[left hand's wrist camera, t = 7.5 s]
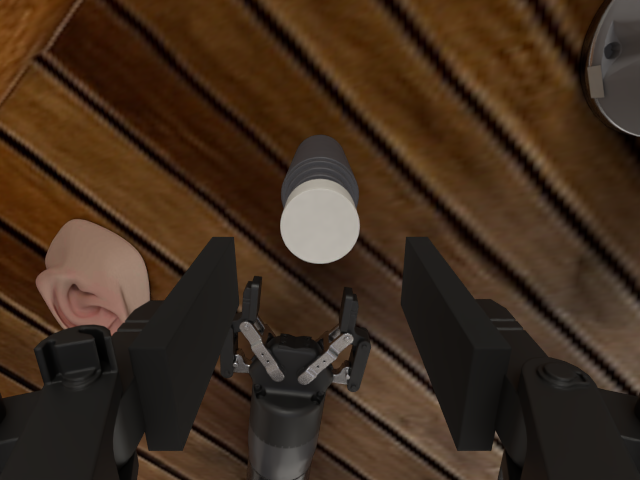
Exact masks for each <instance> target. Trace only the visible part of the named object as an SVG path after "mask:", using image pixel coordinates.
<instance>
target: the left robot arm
mask: <svg viewBox="0 0 640 480" xmlns="http://www.w3.org/2000/svg"><path fill="white" fill-rule="evenodd" d="M580 74H581V83H582V89H583V92H584V96H585V98H586V101H587V103H588V105H589V107H590V108H591V110H592V111H593V113H594V114H595V116H596V117H597V118H598V119H599V120H600V121H601V122H603V123H604V124H605V125H606V126H608V127H609V128H611V129H613V130H615V131H617V132H620V133H623V134H626V135H631V136H637V137H640V0H605V1H604V2H603V4H602V5H601V7H600V8H599V10H598V11H597V13H596V15H595V17H594V19H593V21H592V23H591V25H590V27H589V30H588V32H587V35H586V38H585V42H584V45H583V50H582V55H581V67H580ZM238 306H239V295H238V283H237V270H236V258H235V246H234V237H212V238H211V240H210V241H209V242H208V244H207V245H206V246H205V248H204V249H203V250H202V252H201V253H200V254H199V256H198V257H197V258H196V259H195V261H194V262H193V263H192V265H191V266H190V267H189V269H188V270H187V271H186V273H185V274H184V275H183V277H182V278H181V279H180V281H179V282H178V283H177V284H176V286H175V287H174V288H173V290H172V291H171V292H170V294H169V295H168V296H167V298H166V299H165V300H164V301H148V302H146V303H145V304H143V305H141V306H140V307H138V308H136V309H135V310H134V311H133V312H132V313H131V314H130V315H129V316H128V318H127V319H126V320H125V323H122V324H121V326H120V327H119V328H118V329H117V332H115V333H114V334H113V335H112V336H111V332H110V330H109V329H107V328H106V327H105V326H101V325H95V324H92V325H80V326H75V327H71V328H67V329H64V330H62V331H59V332H57V333H54V334H52V335H51V336H49V337H47V338H46V339H44V340H42V341H41V342H40V343H39V344H38V345H37V346H36V347H35V348H34V352H35V355H36V359H37V362H38V365H39V369H40V372H41V375H42V379H43V382H44V386H43V388H42V390H39V391H36V392H31V393H26V394H21V395H16V396H11V397H7V398H2V396H1V394H0V480H137V475H138V467H139V464H138V457H137V452H136V448H137V446H138V444H139V442H140V440H141V438H142V436H143V434H144V432H145V435H146V440H147V445H148V450H149V451H183V448H184V446H185V443H186V440H187V438H188V435H189V433H190V430H191V428H192V425H193V422H194V420H195V417H196V415H197V412H198V409H199V407H200V404H201V402H202V399H203V397H204V394H205V391H206V389H207V386H208V384H209V381H210V378H211V376H212V373H213V371H214V368H215V366H216V363H217V360H218V358H219V355H220V353H221V350H222V347H223V345H224V342H225V340H226V337H227V335H228V332H229V329H230V327H231V324H232V322H233V319H234V317H235V314H236V311H237V309H238ZM401 306H402V309H403V311H404V314H405V317H406V319H407V322H408V324H409V327H410V329H411V332H412V335H413V337H414V340H415V342H416V345H417V347H418V350H419V353H420V355H421V358H422V360H423V363H424V366H425V368H426V371H427V373H428V376H429V378H430V381H431V384H432V386H433V389H434V391H435V394H436V397H437V399H438V402H439V404H440V407H441V409H442V412H443V415H444V417H445V420H446V422H447V425H448V428H449V430H450V433H451V435H452V438H453V440H454V443H455V446H456V448H457V451H491V450H492V445H493V440H494V435H495V430H496V432H497V434H498V436H499V438H500V440H501V442H502V444H503V446H504V447H505V448H504V452H503V457H502V462H501V466H500V471H499V475H498V480H640V394H639V396H638V397H637V396H633V395H628V394H623V393H618V392H613V391H608V390H604V389H600V388H597V386H596V384H595V382H594V381H593V380H592V379H591V377H590V376H589V375H588V374H586V373H585V372H584V371H582V370H581V369H579V368H578V367H576V366H574V365H572V364H569V363H567V362H565V361H562V360H558V359H554V358H550V357H548V356H547V355H546V354H545V353H544V351H543V350H542V349H541V348H540V347H539V346H538V345H537V343H536V342H535V341H534V340H533V339H532V338H531V336H530V335H529V334H528V333H527V332H526V331H525V330H523V327H522V326H521V325H520V324H519V323H518V322H517V321H515V318H514V317H513V316H512V315H511V314H510V312H509V311H508V310H507V309H506V308H504V307H503V306H501V305H499V304H498V303H496V302H494V301H493V300H491V299H474V298H473V296H472V295H471V294H470V292H469V291H468V290H467V288H466V287H465V286H464V284H463V283H462V282H461V281H460V279H459V278H458V277H457V275H456V274H455V273H454V271H453V270H452V269H451V267H450V266H449V265H448V263H447V262H446V261H445V259H444V258H443V257H442V256H441V254H440V253H439V252H438V250H437V249H436V248H435V246H434V245H433V244H432V242H431V241H430V240H429V238H428V237H406V246H405V258H404V270H403V283H402V295H401Z"/></svg>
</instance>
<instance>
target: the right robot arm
mask: <svg viewBox="0 0 640 480" xmlns="http://www.w3.org/2000/svg"><path fill="white" fill-rule="evenodd" d="M261 284H262V277H260V276H254V279H253V281H248V283H247V285H246V287H245V290H244V292H243V305H242V312H240V313H236V314H235V317H234V319H233V322H232V324H231V327H230V329H229V332H228V335H227V337H226V340H225V342H224V345H223V347H222V350H221V353H220V362H221V375H222V376H223V377H225V378H230V377H232V375H233V373H234V372H240V373H249V374H250V376H251V378H252V381H253V386H252V397H251V408H250V418H249V430H248V446H249V457H248V468H247V480H308V479H309V473H310V467H311V461H312V457H313V455H314V452H315V449H316V445H317V440H318V435H319V429H320V423H321V418H322V412H323V406H324V400H325V394H326V390H327V388H328V387H329V385H330V384H331V383H332V382H334V383H341V384H347V388H348V390H349V391H351V392H356V391H358V390H359V388H360V384H361V381H362V377H363V374H364V370H365V367H366V363H367V360H368V356H369V353H370V349H371V344H370V339H369V334H368V330H367V329H366V328H358V327H356V326H355V323H356V318H357V312H358V307H359V306H358V300H357V296H356V294H353V292H352V288H348V287H344V291H343V297H342V303H341V309H340V314H339V324H338V325H336V326H335V327H334V328H333V329H332V330H331V331H326V332H325V333H324V334H323V335H321V336H320V337H319V338H318V339H317V340H315V341H314V340H312V339H311V338H312V337H307V336H300V337H295V336H292V335H289V334H281V335H280V336H277V337H276V336H275V334H274V333H273V331H272V330H271V329H270V327H269V326H268V325H267V324H264V323H263V321H262V320H261V318H260V317H259V316H258V312H259V306H260V295H261ZM240 331H242V333H243V334H244V335H245V337H246V338H247V340H248V341H249V342H250V344H251V349H252V351H253V352H254V353H255V355H254V356H253V357H252V359H251V360H249V359H247V358H246V357H245V355H244V352H243V351H242V349H241V348H238V332H240ZM350 344H352V345H353V346H352V349H351V353H350V357H349V361H348V360H345V361H344V363H342V364H341V366H340V367H339V368H338V369H333V366H332V364H331V363H332V362H333V361H334V360H335V359H336V358H337V357H338V354H339V353H340V352H341V351H342V350H343V349H345V348H346V347H347V346H348V345H350Z"/></svg>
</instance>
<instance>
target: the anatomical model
mask: <svg viewBox="0 0 640 480" xmlns="http://www.w3.org/2000/svg"><path fill="white" fill-rule="evenodd" d="M45 264H46V268H47V270H45V271H43V272H42V273H41V274H39V276H38V277H37V279H36V285H37V288H38V290H39V292H40V293H41V295H42V297H43V298H44V300H45V302H46V303H47V305H48V307H49V309H50V310H51V312H52V314H53V315H54V317H55V318H56V320H57V321H58V323H59V324H60V325H61V326H62V328H63V329H67V328H71V327H75V326H80V325H92V324H95V325H101V326H105V327H106V328H107V329H109V330H110V332H111V336H112V335H113V334H114V333H115V332H117V329H118V328H119V327H120V326H121V324H122V323H125V320H126V319H127V318H128V316H129V315H130V314H131V313H132V312H133V311H134V310H135V309H136V308H138V307H140V306H141V305H143V304H145V303H146V302H148V301H150V291H149V281H148V275H147V270H146V266H145V263H144V261H143V259H142V257H141V255H140V254H139V252H138V251H137V250H136V249H135V248H134V247H133V246H132V245H131V244H130V243H129V242H127V241H126V240H125V239H123V238H122V237H120V236H118V235H117V234H115V233H113V232H111V231H110V230H108V229H106V228H103V227H101V226H99V225H97V224H94V223H92V222H89V221H86V220H81V219H74V220H71V221H69V222H67V223H66V224H65V225H64V226H63V227H62V228H61V230H60V231H59V232H58V234H57V235H56V237H55V238H54V240H53V241H52V243H51V245H50V247H49V250H48V252H47V255H46V259H45Z"/></svg>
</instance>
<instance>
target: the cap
mask: <svg viewBox="0 0 640 480" xmlns="http://www.w3.org/2000/svg"><path fill="white" fill-rule="evenodd" d="M280 227H281V235H282V238H283V241H284V243H285V244H286V246H287V247H288V249H289V250H290V251H291V252H292V253H293V254H294V255H295V256H297V257H298V258H300V259H302V260H304V261H307V262H311V263H317V264H323V263H329V262H333V261H336V260H338V259H340V258H342V257H343V256H344V255H346V254H347V253H348V252H349V251H350V250H351V249H352V247H353V246H354V244H355V243H356V240H357V238H358V235H359V227H360V224H359V218H358V214H357V211H356V208H355V204H354V202H353V199H352V197H351V196H350V194H349V193H348V191H347V190H346V189H345V188H344V187H342V186H341V185H339V184H338V183H336V182H333V181H331V180H326V179H314V180H310V181H307V182H304V183H302V184H301V185H299V186H298V187H296V188H295V189H294V190H293V191H292V193H291V194H290V195H289V197H288V199H287V202H286V204H285V208H284V211H283V214H282V217H281V224H280Z"/></svg>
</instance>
